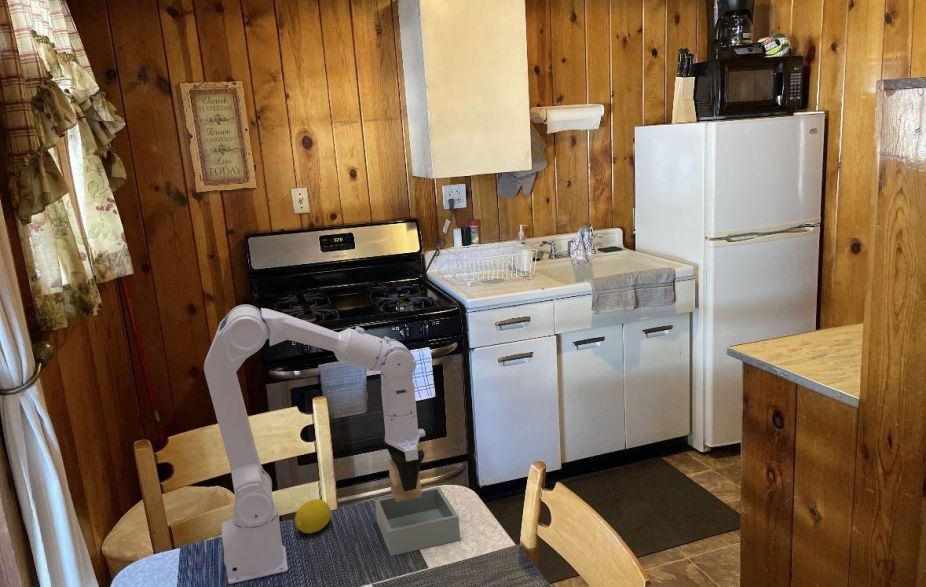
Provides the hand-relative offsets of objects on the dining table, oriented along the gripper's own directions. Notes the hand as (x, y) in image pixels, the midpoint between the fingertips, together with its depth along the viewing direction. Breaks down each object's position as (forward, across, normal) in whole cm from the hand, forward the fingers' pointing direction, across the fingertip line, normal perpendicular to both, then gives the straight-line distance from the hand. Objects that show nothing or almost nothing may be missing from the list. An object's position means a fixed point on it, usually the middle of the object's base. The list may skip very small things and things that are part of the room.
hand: (406, 483), depth 125 cm
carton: (+2, 0, 0) cm, 2 cm away
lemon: (+7, +11, +13) cm, 18 cm away
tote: (+10, 0, -1) cm, 10 cm away
